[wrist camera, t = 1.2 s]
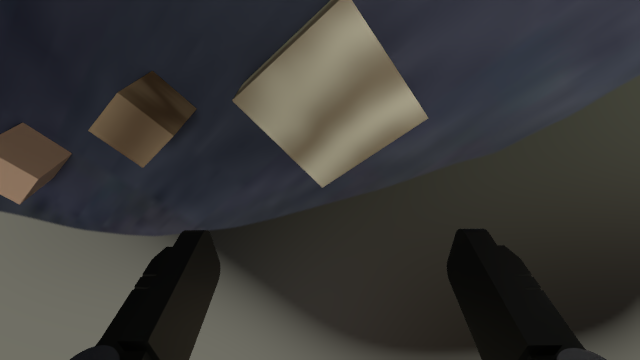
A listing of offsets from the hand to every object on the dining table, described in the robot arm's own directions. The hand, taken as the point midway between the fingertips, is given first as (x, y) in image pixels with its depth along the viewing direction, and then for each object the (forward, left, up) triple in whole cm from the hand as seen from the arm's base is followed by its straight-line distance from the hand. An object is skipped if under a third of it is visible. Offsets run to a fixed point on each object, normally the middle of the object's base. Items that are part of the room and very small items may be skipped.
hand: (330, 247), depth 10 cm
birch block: (+2, -1, -22) cm, 22 cm away
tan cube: (-14, -30, -22) cm, 40 cm away
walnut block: (-8, -15, -22) cm, 28 cm away
